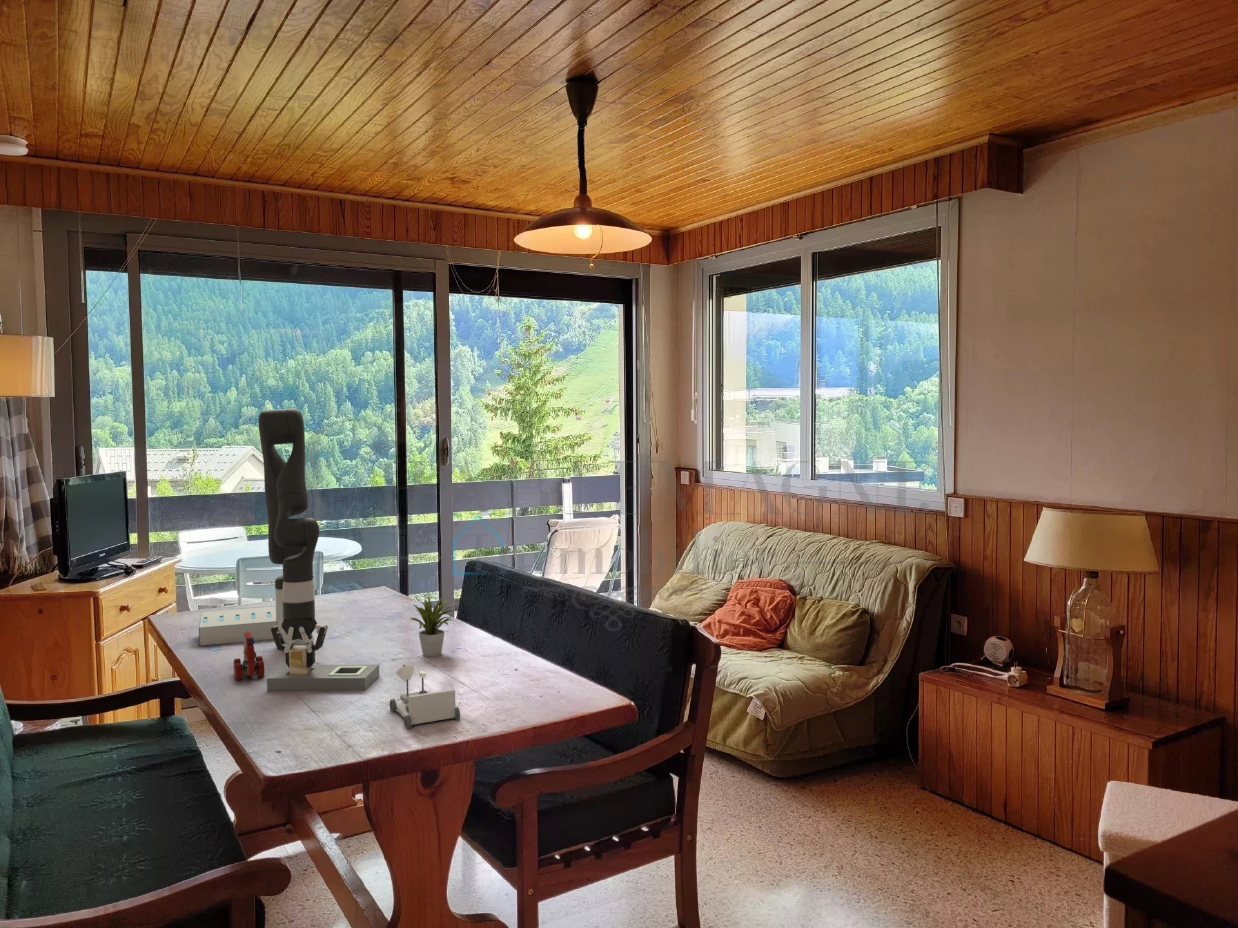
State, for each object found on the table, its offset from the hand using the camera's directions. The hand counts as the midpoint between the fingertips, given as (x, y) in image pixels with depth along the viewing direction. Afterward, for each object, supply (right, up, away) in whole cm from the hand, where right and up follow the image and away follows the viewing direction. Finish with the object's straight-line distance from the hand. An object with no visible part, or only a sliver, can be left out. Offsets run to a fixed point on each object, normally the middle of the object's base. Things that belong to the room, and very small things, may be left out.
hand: (300, 666), depth 224 cm
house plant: (+27, -3, +26) cm, 38 cm away
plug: (0, -4, 0) cm, 4 cm away
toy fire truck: (-16, -4, +8) cm, 18 cm away
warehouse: (-32, -3, +51) cm, 60 cm away
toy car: (+36, -6, -23) cm, 43 cm away
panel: (+6, -4, 0) cm, 7 cm away
